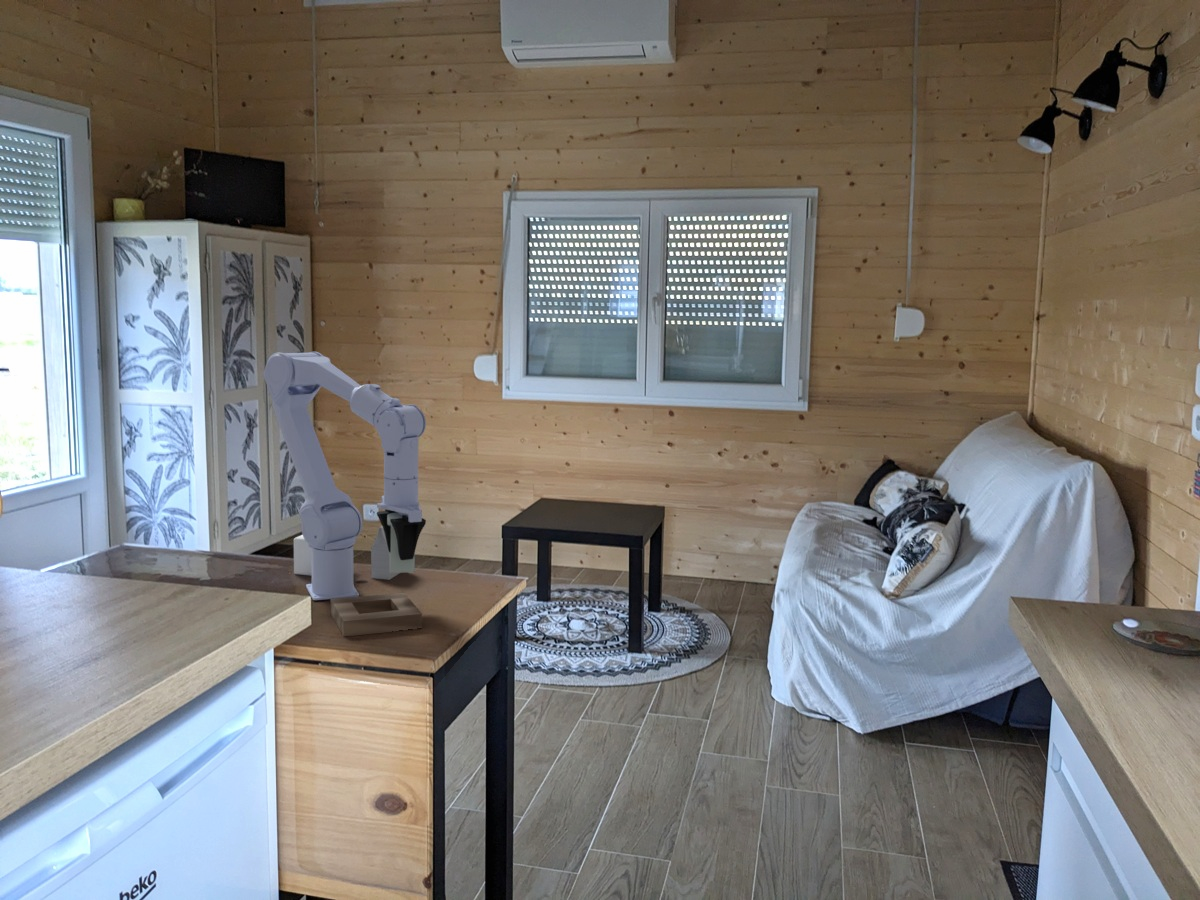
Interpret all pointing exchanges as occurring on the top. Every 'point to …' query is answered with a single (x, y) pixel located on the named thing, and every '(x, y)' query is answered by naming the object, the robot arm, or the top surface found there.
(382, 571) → the grey gabled block
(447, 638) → the top surface
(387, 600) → the walnut holder
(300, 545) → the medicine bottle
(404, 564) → the green peg
